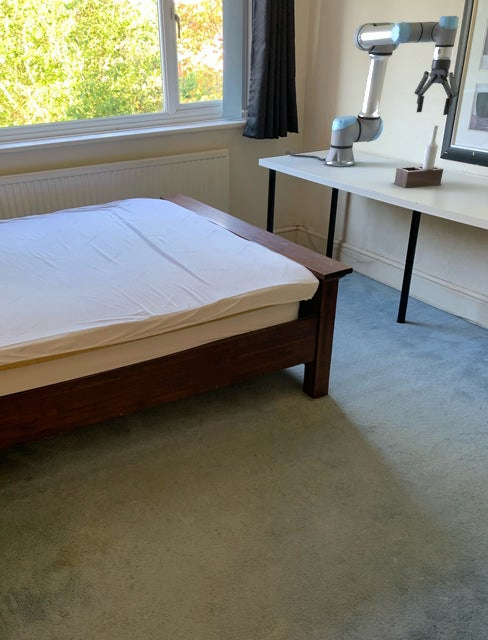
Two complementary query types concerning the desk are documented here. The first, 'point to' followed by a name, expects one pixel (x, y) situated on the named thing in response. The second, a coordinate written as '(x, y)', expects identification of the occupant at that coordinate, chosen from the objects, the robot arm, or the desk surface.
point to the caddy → (418, 176)
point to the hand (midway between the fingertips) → (432, 113)
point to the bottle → (431, 151)
